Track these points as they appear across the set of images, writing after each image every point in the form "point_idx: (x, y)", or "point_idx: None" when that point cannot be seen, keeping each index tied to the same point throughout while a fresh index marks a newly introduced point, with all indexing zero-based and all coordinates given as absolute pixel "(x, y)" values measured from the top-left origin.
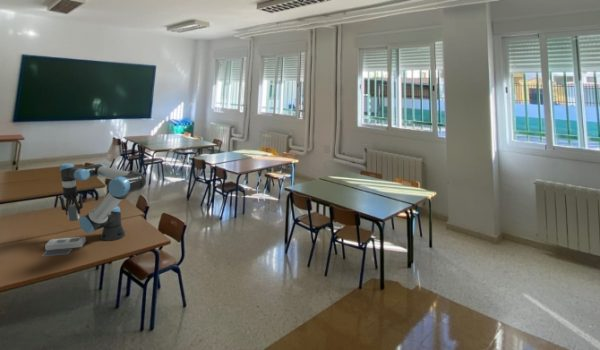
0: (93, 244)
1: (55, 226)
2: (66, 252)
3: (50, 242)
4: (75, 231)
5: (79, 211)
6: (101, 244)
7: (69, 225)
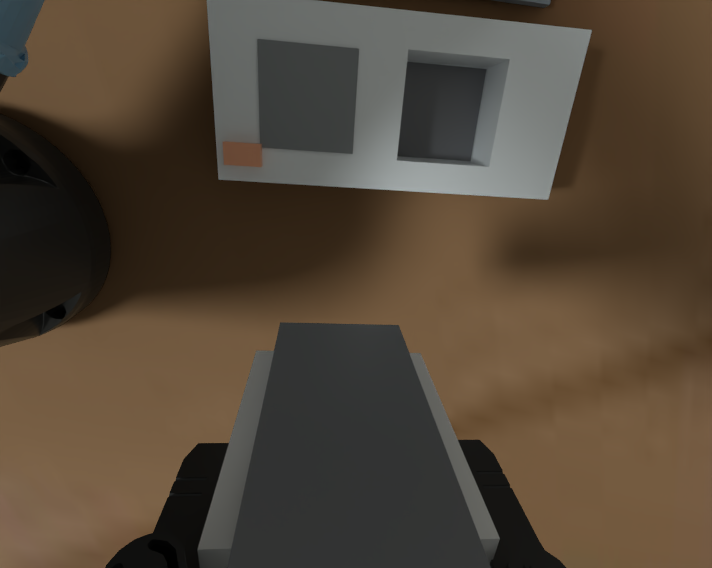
0: (122, 54)
1: None
2: None
3: (543, 109)
4: None
5: (166, 513)
6: None
7: None
